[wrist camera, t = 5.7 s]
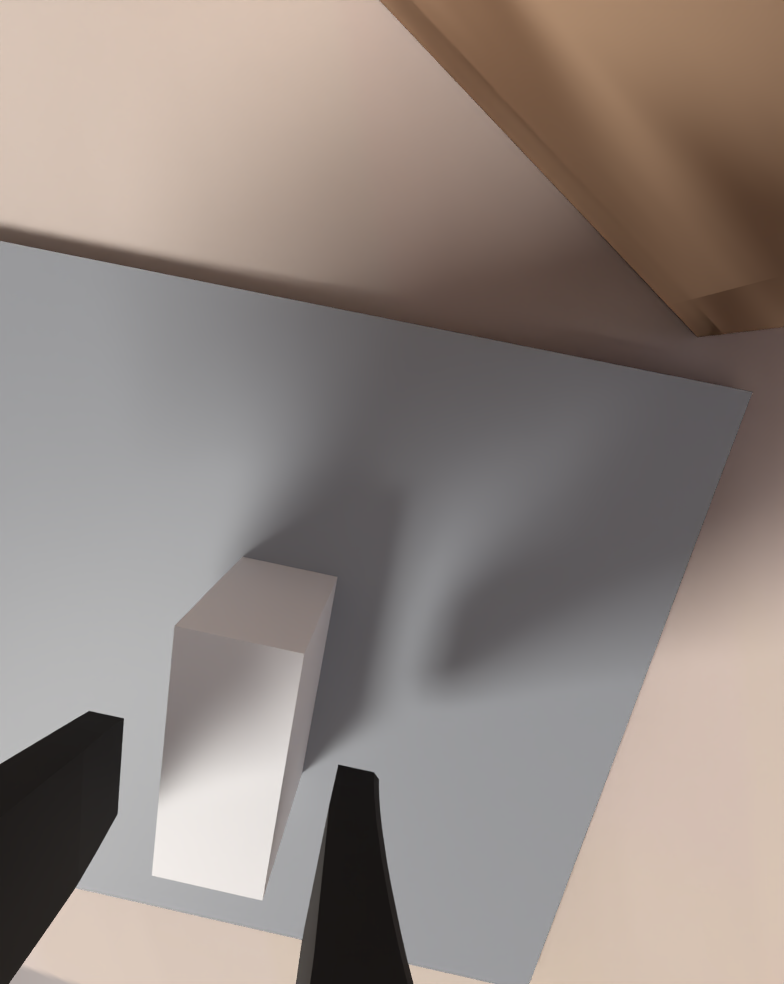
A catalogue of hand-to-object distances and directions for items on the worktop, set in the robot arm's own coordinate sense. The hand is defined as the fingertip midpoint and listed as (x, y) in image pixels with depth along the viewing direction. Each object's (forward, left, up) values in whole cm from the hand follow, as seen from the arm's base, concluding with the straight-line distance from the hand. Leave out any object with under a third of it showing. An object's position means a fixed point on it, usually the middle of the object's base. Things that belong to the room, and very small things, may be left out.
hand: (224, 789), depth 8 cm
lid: (0, 0, -4) cm, 4 cm away
